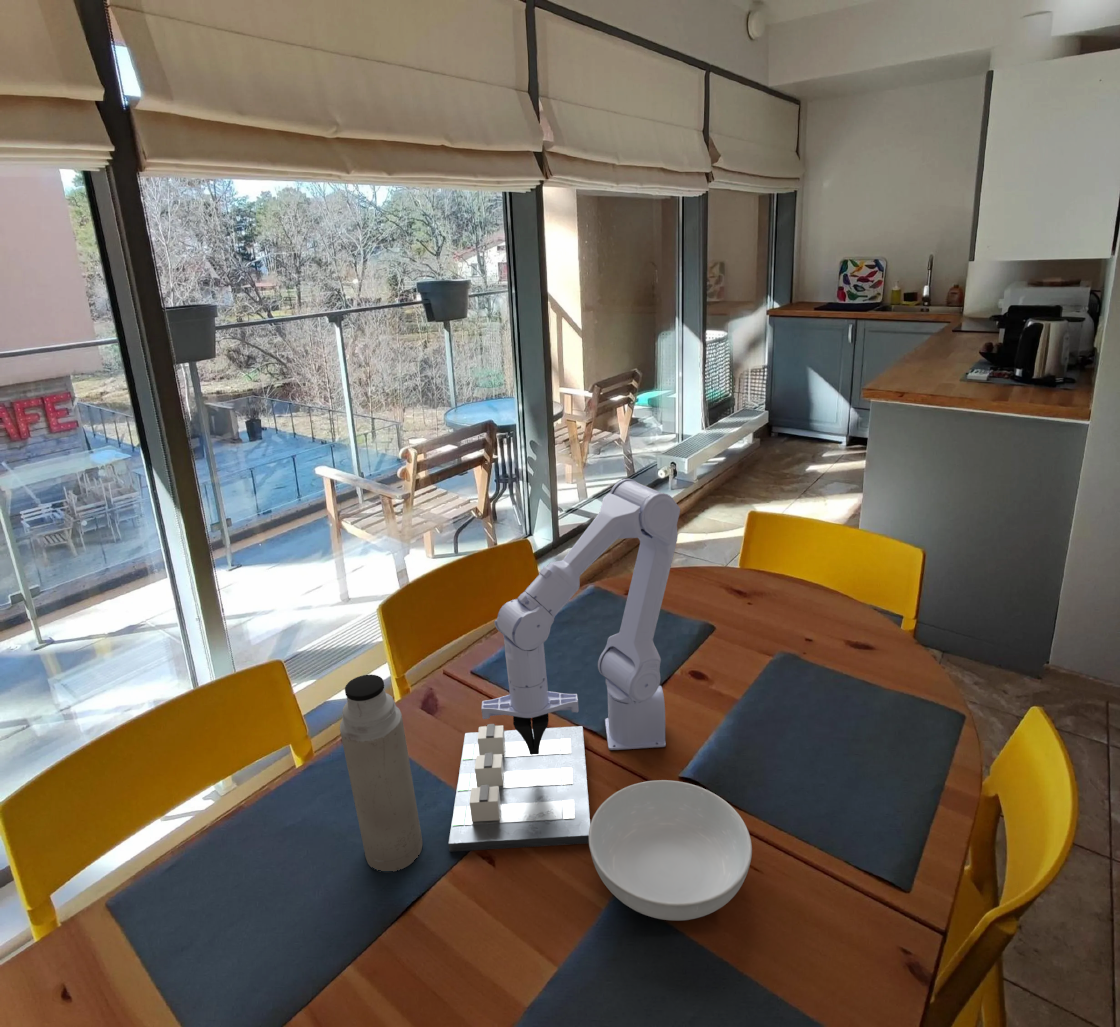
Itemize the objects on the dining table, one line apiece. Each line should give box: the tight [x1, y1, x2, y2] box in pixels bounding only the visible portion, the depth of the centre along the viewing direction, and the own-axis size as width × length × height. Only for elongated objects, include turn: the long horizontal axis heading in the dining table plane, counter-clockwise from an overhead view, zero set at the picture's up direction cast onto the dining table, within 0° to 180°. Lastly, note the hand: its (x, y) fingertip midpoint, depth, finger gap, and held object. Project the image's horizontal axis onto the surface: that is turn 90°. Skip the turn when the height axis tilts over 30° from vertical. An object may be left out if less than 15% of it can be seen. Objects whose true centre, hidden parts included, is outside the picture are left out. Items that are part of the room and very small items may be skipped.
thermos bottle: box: [339, 674, 423, 872], centre depth 100 cm, size 8×8×28 cm
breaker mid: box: [475, 752, 504, 787], centre depth 114 cm, size 4×3×4 cm
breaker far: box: [478, 723, 505, 755], centre depth 121 cm, size 4×3×4 cm
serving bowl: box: [588, 779, 753, 922], centre depth 98 cm, size 21×21×7 cm
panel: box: [448, 725, 591, 852], centre depth 115 cm, size 20×24×2 cm
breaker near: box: [470, 785, 501, 822], centre depth 108 cm, size 4×3×4 cm
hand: (534, 750), depth 115 cm, fingers closed
